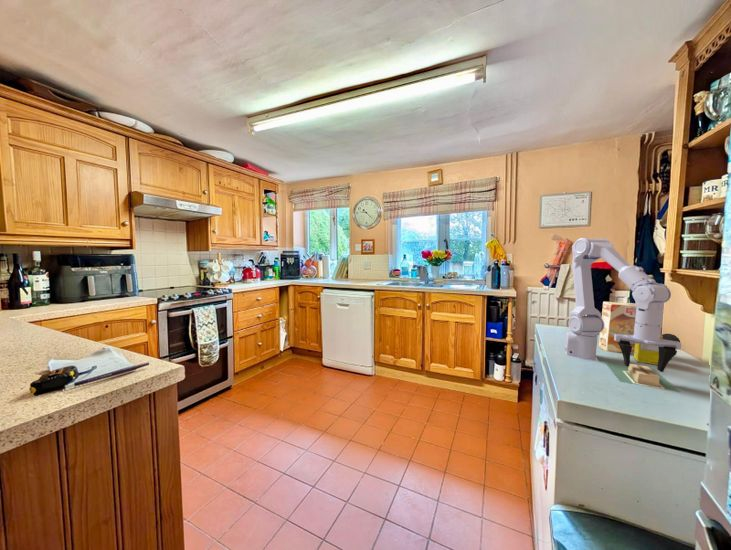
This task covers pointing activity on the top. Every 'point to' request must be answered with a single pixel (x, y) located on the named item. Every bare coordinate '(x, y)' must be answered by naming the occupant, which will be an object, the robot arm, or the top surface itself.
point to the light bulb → (670, 338)
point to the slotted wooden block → (643, 375)
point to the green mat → (624, 376)
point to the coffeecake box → (617, 324)
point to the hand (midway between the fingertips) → (643, 368)
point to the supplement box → (647, 353)
